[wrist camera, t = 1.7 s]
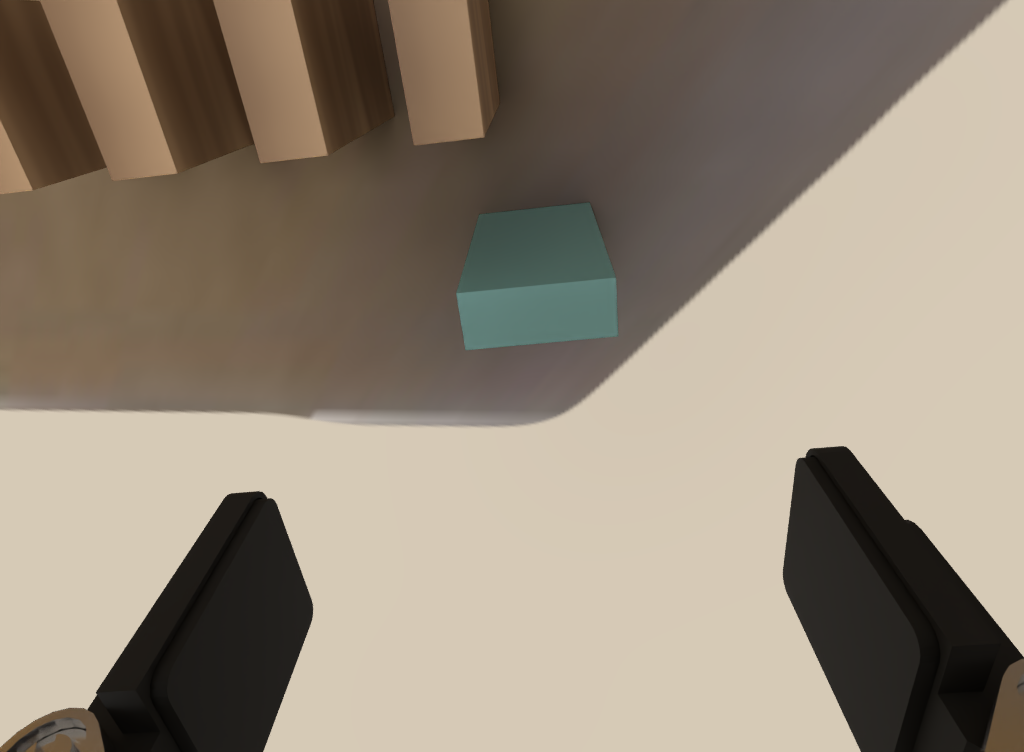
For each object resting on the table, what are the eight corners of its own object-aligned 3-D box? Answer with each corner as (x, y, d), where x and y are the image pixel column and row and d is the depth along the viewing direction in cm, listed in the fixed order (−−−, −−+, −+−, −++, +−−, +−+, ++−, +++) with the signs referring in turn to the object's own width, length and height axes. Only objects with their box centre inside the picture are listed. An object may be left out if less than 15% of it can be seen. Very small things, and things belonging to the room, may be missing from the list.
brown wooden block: (257, -7, 25) (105, -30, 16) (292, 128, 27) (177, 173, 18) (208, 0, 25) (32, -19, 16) (247, 133, 27) (112, 180, 18)
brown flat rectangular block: (368, -22, 24) (277, -55, 16) (394, 116, 27) (328, 155, 18) (319, -15, 25) (200, -44, 16) (348, 121, 27) (260, 163, 18)
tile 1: (483, -38, 24) (456, -81, 15) (500, 103, 26) (484, 137, 18) (432, -31, 24) (375, -69, 15) (452, 109, 27) (413, 145, 18)
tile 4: (148, 9, 25) (-58, -6, 16) (192, 140, 27) (32, 189, 19) (101, 15, 25) (-129, 4, 16) (149, 146, 28) (-30, 197, 19)
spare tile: (479, 214, 29) (456, 293, 20) (589, 202, 28) (615, 277, 19) (485, 256, 30) (465, 350, 21) (592, 245, 29) (618, 336, 20)
